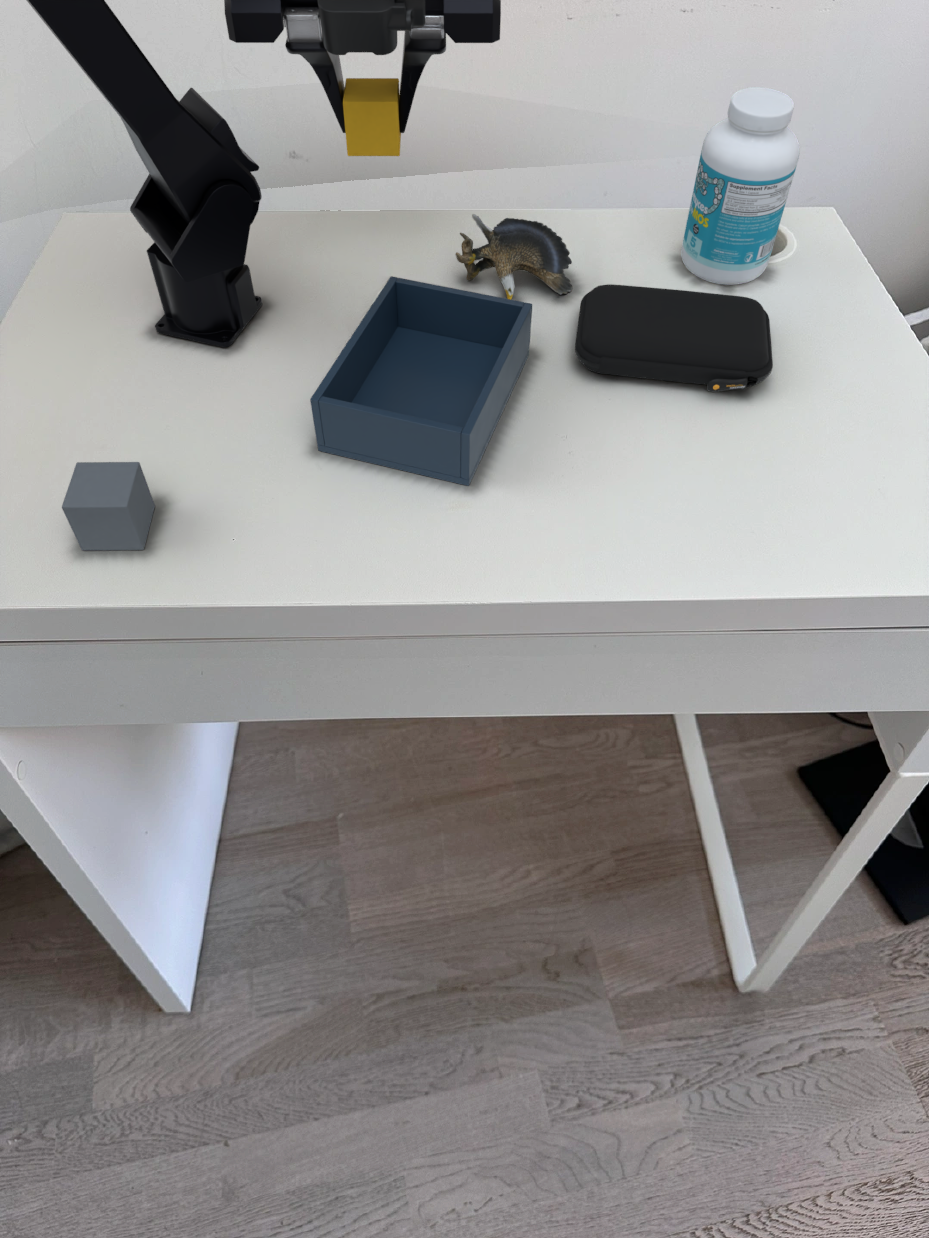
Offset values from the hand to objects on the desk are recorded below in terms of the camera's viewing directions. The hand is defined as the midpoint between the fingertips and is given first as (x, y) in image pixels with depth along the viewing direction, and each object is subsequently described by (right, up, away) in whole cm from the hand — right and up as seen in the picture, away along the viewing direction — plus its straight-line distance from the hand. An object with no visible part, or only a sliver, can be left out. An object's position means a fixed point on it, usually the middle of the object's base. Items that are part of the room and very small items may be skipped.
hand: (373, 131), depth 72 cm
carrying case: (+23, -17, +1) cm, 29 cm away
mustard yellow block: (0, -1, +1) cm, 1 cm away
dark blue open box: (+4, -21, -3) cm, 22 cm away
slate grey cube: (-16, -32, -11) cm, 37 cm away
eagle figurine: (+11, -10, +7) cm, 16 cm away
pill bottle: (+29, -7, +9) cm, 31 cm away
